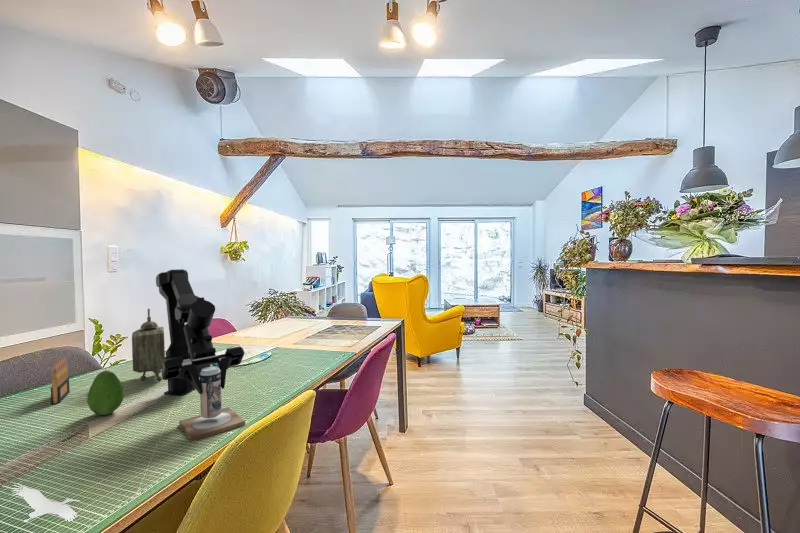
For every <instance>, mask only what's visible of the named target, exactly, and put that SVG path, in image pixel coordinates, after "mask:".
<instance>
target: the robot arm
mask: <svg viewBox="0 0 800 533" xmlns="http://www.w3.org/2000/svg"><path fill="white" fill-rule="evenodd" d="M190 283H191V282H190V280H189V272H188V271H187V269H183V268H182V269H170V270H167V271H163V272H160V273H158V274H157V275H156V277H155V285H156V287H157V288H158V292H159V295H160V296H162V297H163V298H164V299H165V304H166V313H167V320H168V321H167V322H168V330H169V340H170V344H169V346H168V347H167V350H166V351H165V358H164V362H163V366H162V369H161V377H162V381H163V380H164V381H166V380H167V391H164V393H163V395H172V396H183V395H184V394H187V393H189V392H191V391H193V390H196V392H197V393H198V394H199V395H200V394H202V386H201V382H200V373H201V370H202V369H203V368H205V367H210V366H211V365H215V364H217V367H219V369H220V370H221V390H223V389H225V385H226V377H227V370H228V369H229V368H230V367H234V366H238V365H239V366H240V364H241V363H242V361H243V358H244V356H245V350H244V348H243V347H242V346H240V345H239V346H234V347H233V346H232V347H227V348H226V349H225V353H224V354H216V352H217V350H216V347H214V345H213V336H212V335H211V334H210V331H209V327H210V326H211V325H212V321H213V318H214V315H215V312H216V306H215V305H214V304H213V303H212V302H211V301H210V300H206V299H205V297H204V296H202V297H200V296H197V295H195V293H194V290H193V287H192V286H191V284H190Z"/></svg>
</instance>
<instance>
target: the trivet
mask: <svg viewBox="0 0 800 533" xmlns="http://www.w3.org/2000/svg"><path fill="white" fill-rule="evenodd" d="M178 423H179V426H180V428H181V429H182V430H183V432H184V433H185V434H186V436H188V439H190V441H191V442H192V441H193V442H196V441H199V440H202V439H205V438H209V437H212V436H214V435H217V434H221V433H224V432H227V431H230V430H233V429H232V428H234V429H236V428H235V427H237V428H239V427H238V426H240V427H242V426H246V420H244V419H243V418H242V417H241V416H239V414H237V413H236V412H235V411H234V410H232V409H231V408H230V407H229V406H228V407H226V408H222V413H221V414H219V415H218V416H216V417H214V418H204V417H202V416H201V414H200V415H196V416H193V417H189V418H185V419H182V420H179V422H178ZM229 429H230V430H229ZM226 430H227V431H226ZM223 431H224V432H223ZM195 440H196V441H195Z"/></svg>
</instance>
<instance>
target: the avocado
mask: <svg viewBox="0 0 800 533" xmlns="http://www.w3.org/2000/svg"><path fill="white" fill-rule="evenodd" d="M124 397H125V391H124V386H123V385H122V382H121V380H120V379H119V378H118V376H117V375H116V374H115V373H114V372H112V371H109V370H103V371H101V372H99V373H98V374H96V376H95V377H94V379H93V381H92V383H91V386H90V388H89V391H88V393H87V399H86V403H87V405H88V408H89V409H90V411H91V412H93V413H94V414H95V415H98V416H106V415H109V414H110V415H111V414H112V413H114V412H115V411H116V410H117V409H118V408H119V407H120V406H121V405H122V403H123V400H124Z"/></svg>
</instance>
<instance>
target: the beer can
mask: <svg viewBox="0 0 800 533" xmlns="http://www.w3.org/2000/svg"><path fill="white" fill-rule="evenodd" d="M199 379H200V382H201V386H202V394H199V397H200V415H201V416H202V417H204V418H214V417H216V416H218V415H219V414H221V413H222V409H223V408H222V388H221V370H220V369H219V367H218V365H216V366H214V365H213V366H211V365H210V367H205V368H203V369H202V370H201V373H200V377H199Z"/></svg>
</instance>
